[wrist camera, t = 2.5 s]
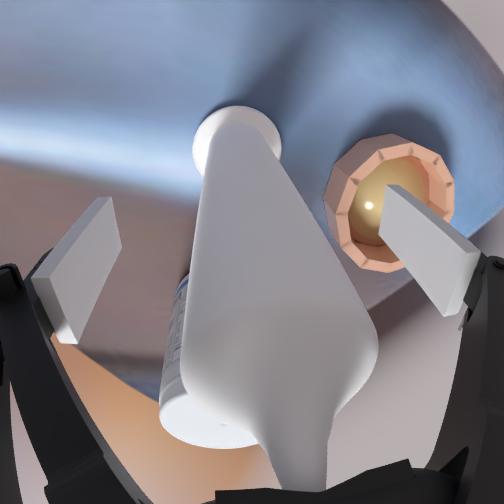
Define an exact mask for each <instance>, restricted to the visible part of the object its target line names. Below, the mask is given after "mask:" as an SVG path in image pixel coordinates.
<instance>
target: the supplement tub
mask: <svg viewBox="0 0 504 504" xmlns="http://www.w3.org/2000/svg"><path fill="white" fill-rule="evenodd" d="M188 281H189V274H188V275H187V276H186V277H185V278H184V279H183V280H182V281H181V283H180V284H179V286H178V288H177V291H176V294H175V299H174V304H173V310H172V315H171V321H170V327H169V333H168V339H167V346H166V352H165V359H164V365H163V372H162V379H161V388H160V396H159V405H160V414H159V416H160V421H161V423H162V425H163V426H164V428H165V429H166V430H167V431H168V432H169V433H170V434H172V435H173V436H175V437H176V438H178V439H180V440H182V441H184V442H187V443H190V444H193V445H197V446H201V447H207V448H219V449H229V448H240V447H246V446H250V445H254V444H258V441H257V440H256V439H255V437H254V436H253V435H252V434H251V433H249V432H247V431H245V430H243V429H241V428H239V427H237V426H235V425H233V424H231V423H228V422H226V421H223V420H221V419H219V418H217V417H215V416H213V415H211V414H209V413H207V412H206V411H205V410H203V409H202V408H201V407H199V406H198V405H197V404H196V403H195V402H194V401H193V399H192V398H191V397H190V396H189V394H188V393H187V391H186V389H185V387H184V385H183V382H182V378H181V373H180V357H181V346H182V336H183V326H184V316H185V307H186V298H187V290H188Z"/></svg>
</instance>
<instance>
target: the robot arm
mask: <svg viewBox="0 0 504 504" xmlns="http://www.w3.org/2000/svg"><path fill="white" fill-rule="evenodd" d="M378 235H379V236H380V237H381V238H382V239H383V240H384V242H385V243H386V244H387V245H388V246H389V248H390V249H391V250H392V251H393V252H394V254H395V255H396V256H397V257H398V258H399V260H400V261H401V262H402V263H403V265H404V266H405V267H406V268H407V270H408V271H409V272H410V273H411V275H412V276H413V277H414V278H415V280H416V281H417V282H418V284H419V285H420V286H421V287H422V289H423V290H424V291H425V293H426V294H427V295H428V297H429V298H430V299H431V301H432V302H433V303H434V305H435V306H436V307H437V309H438V310H439V311H440V313H441V314H442V316H443V317H445V316H449V315H454V314H458V312H459V310H460V307H461V305H462V302H463V301H464V302H465V303H466V304H467V306H468V308H467V311H466V313H465V315H464V317H463V320H462V322H461V324H460V326H459V328H458V330H461V328H462V327H463V331H462V338H461V344H460V350H459V356H458V361H457V366H456V371H455V375H454V380H453V384H452V389H451V393H450V397H449V401H448V405H447V409H446V412H445V416H444V420H443V423H442V426H441V430H440V433H439V436H438V439H437V442H436V445H435V448H434V451H433V454H432V456H431V458H430V460H429V462H428V463H427V465H426V466H425V468H412V467H411V465H410V462H409V459H405V460H402V461H398V462H395V463H392V464H388V465H385V466H382V467H378V468H375V469H370V470H367V471H365V472H363V473H361V474H359V475H357V476H355V477H353V478H351V479H349V480H347V481H345V482H343V483H340V484H338V485H336V486H334V487H332V488H330V489H327V490H325V491H322V492H305V491H292V490H281V489H271V488H259V489H243V490H221V491H220V490H219V491H218V490H217V491H215V500H213V501H209V502H205V503H202V504H504V259H503V258H501V257H497V256H489V257H486V256H485V255H484V254H483V253H482V252H481V251H480V250H479V249H478V248H476V246H474V245H473V244H472V243H471V242H470V241H469V240H468V239H466V238H465V237H464V236H463V235H462V234H461V233H460V232H458V231H457V230H456V229H455V228H453V227H452V226H451V225H450V224H449V223H447V222H446V221H445V220H444V219H443V218H441V217H440V216H439V215H438V214H436V213H435V212H434V211H433V210H431V209H430V208H429V207H428V206H426V205H425V204H424V203H422V202H421V201H420V200H419V199H417V198H416V197H415V196H413V195H412V194H411V193H409V192H408V191H407V190H405V189H404V188H403V187H401V186H400V185H386V189H385V196H384V203H383V209H382V216H381V222H380V228H379V233H378ZM121 249H122V245H121V241H120V237H119V232H118V227H117V222H116V218H115V213H114V208H113V202H112V197H111V196H109V197H100V198H96V199H95V201H94V202H93V203H92V204H91V205H90V206H89V207H88V208H87V209H86V211H85V212H84V213H83V214H82V215H81V216H80V217H79V218H78V220H77V221H76V222H75V223H74V224H73V225H72V227H71V228H70V229H69V230H68V231H67V232H66V234H65V235H64V236H63V237H62V238H61V240H60V241H59V242H58V243H57V245H56V246H55V247H54V248H52V249H51V250H49V251H48V252H47V253H45V254H44V255H43V256H42V257H41V259H40V260H39V261H38V263H37V264H36V265H35V266H34V268H33V269H32V270H31V271H30V273H29V274H28V275H27V277H26V278H25V279H24V281H23V280H22V277H21V275H20V272H19V270H18V267H17V266H16V264H12V263H10V264H5V265H2V266H0V504H23V502H22V498H21V493H20V488H19V483H18V477H17V471H16V464H15V457H14V448H13V440H12V429H11V414H10V382H11V385H12V388H13V392H14V395H15V399H16V402H17V404H18V408H19V411H20V414H21V417H22V420H23V422H24V425H25V428H26V430H27V433H28V436H29V438H30V441H31V443H32V446H33V448H34V451H35V453H36V455H37V458H38V460H39V462H40V465H41V467H42V469H43V471H44V473H45V475H46V478H47V480H48V485H47V486H45V487H44V491H45V495H46V498H47V500H48V503H49V504H153V503H152V501H151V500H150V499H149V498H148V497H147V496H146V495H145V494H144V492H143V491H142V490H141V489H140V487H139V486H138V485H137V484H136V483H135V481H134V480H133V478H132V477H131V476H130V474H129V473H128V472H127V471H126V469H125V468H124V466H123V465H122V464H121V462H120V461H119V459H118V458H117V457H116V455H115V454H114V452H113V451H112V449H111V448H110V446H109V445H108V443H107V442H106V440H105V439H104V437H103V436H102V434H101V432H100V431H99V430H98V428H97V426H96V425H95V423H94V421H93V420H92V418H91V416H90V415H89V413H88V411H87V409H86V408H85V406H84V404H83V402H82V401H81V399H80V397H79V395H78V394H77V392H76V390H75V388H74V386H73V384H72V382H71V380H70V378H69V376H68V374H67V373H66V371H65V369H64V367H63V364H62V362H61V360H60V358H59V356H58V354H57V352H56V350H55V348H54V345H53V343H52V342H51V340H50V337H51V336H52V334H53V332H55V334H56V336H57V338H58V339H59V341H60V343H69V344H78V343H79V340H80V338H81V335H82V333H83V330H84V328H85V326H86V323H87V321H88V319H89V316H90V314H91V312H92V310H93V307H94V305H95V303H96V301H97V299H98V296H99V294H100V292H101V290H102V288H103V286H104V283H105V281H106V279H107V277H108V275H109V273H110V271H111V269H112V267H113V265H114V263H115V261H116V259H117V257H118V255H119V253H120V251H121Z"/></svg>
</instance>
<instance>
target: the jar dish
mask: <svg viewBox="0 0 504 504" xmlns="http://www.w3.org/2000/svg"><path fill="white" fill-rule="evenodd" d="M386 185H400V186H401V187H403V188H404V189H405V190H407V191H408V192H409V193H411V194H412V195H413V196H415V197H416V198H417V199H419V200H420V201H421V202H422V203H424V204H425V205H426V206H428V207H429V208H430V209H431V210H433V211H434V212H435V213H436V214H438V215H439V216H440V217H441V218H443V219H444V220H445V221H446V222H447V223H449V222H450V220H451V218H452V215H453V213H454V180H453V178H452V176H451V174H450V172H449V170H448V169H447V167H446V165H445V163H444V161H443V160H442V158H441V156H440V155H439V154H437V153H435V152H433V151H431V150H429V149H427V148H425V147H423V146H421V145H419V144H416V143H414V142H412V141H409V140H407V139H405V138H402V137H400V136H398V135H396V134H393V133H390V134H385V135H380V136H375V137H371V138H366V139H362V140H359V141H358V142H357V143H356V144H355V145H354V146H353V147H352V148H351V149H350V150H349V151H348V152H347V153H346V154H344V155H343V156H342V157H341V158H340V159H339V160H338V161H337V162H336V163H335V164H334V166H333V169H332V172H331V175H330V178H329V181H328V184H327V187H326V190H325V192H324V195H323V201H324V206H325V211H326V217H327V222H328V227H329V230H330V231H331V233H332V235H333V236H334V238H335V239H336V241H337V243H338V244H339V246H340V247H341V248H342V249H343V250H344V251H345V252H346V253H347V254H348V255H349V256H350V257H351V258H352V259H353V260H354V261H355V262H356V263H357V264H358V266H359V267H360V268H364V269H370V270H376V271H381V272H387V273H389V272H392V271H395V270H398V269H401V268H404V267H405V266H404V265H403V263H402V262H401V261H400V260H399V258H398V257H397V256H396V255H395V254H394V252H393V251H392V250H391V249H390V248H389V246H388V245H387V244H386V243H385V242H384V240H383V239H382V238H381V237H380V236H379V235H378V233H379V228H380V222H381V216H382V209H383V203H384V196H385V189H386ZM354 239H355V240H354Z"/></svg>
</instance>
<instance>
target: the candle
mask: <svg viewBox="0 0 504 504" xmlns="http://www.w3.org/2000/svg"><path fill="white" fill-rule="evenodd" d="M281 150H282V145H281V139H280V135H279V132H278V130H277V128H276V127H275V125H274V124H273V122H272V121H271V120H270V119H269V118H268V117H267V116H266V115H264V114H263V113H261V112H260V111H258V110H256V109H253V108H250V107H246V106H229V107H225V108H222V109H219V110H217V111H215V112H214V113H212V114H211V115H209V116H208V117H207V118H206V119H205V120H204V121H203V122H202V123H201V125H200V126H199V128H198V130H197V132H196V134H195V137H194V141H193V158H194V162H195V164H196V167H197V169H198V170H199V172H200V173H201V175H202V176H203V183H202V190H201V196H200V202H199V209H198V215H197V222H196V229H195V236H194V243H193V250H192V258H191V265H190V273H189V281H188V290H187V298H186V307H185V316H184V326H183V336H182V346H181V357H180V373H181V378H182V382H183V385H184V387H185V389H186V391H187V393H188V394H189V396H190V397H191V398H192V399H193V401H194V402H195V403H196V404H197V405H198V406H199V407H201V408H202V409H203V410H205V411H206V412H207V413H209V414H211V415H213V416H215V417H217V418H219V419H221V420H223V421H226V422H228V423H231V424H233V425H235V426H237V427H239V428H241V429H243V430H245V431H247V432H249V433H251V434H252V435H253V436H254V437H255V439H256V440H257V441H258V443H259V444H260V445H261V447H262V448H263V449H264V451H265V452H266V453H267V455H268V457H269V459H270V462H271V464H272V466H273V469H274V471H275V473H276V476H277V478H278V480H279V483H280V485H281V487H282V489H283V490H292V491H305V492H322V491H325V490H326V476H327V442H328V439H329V435H330V431H331V427H332V423H333V419H334V417H335V416H336V414H337V413H338V412H339V411H340V410H341V409H342V407H343V406H344V405H345V404H346V403H347V402H348V401H349V400H350V399H351V398H352V397H353V396H354V395H355V394H356V393H357V392H358V391H359V390H360V389H361V387H362V386H363V385H364V384H365V382H366V381H367V380H368V378H369V377H370V375H371V373H372V371H373V369H374V366H375V363H376V360H377V356H378V349H379V345H378V337H377V333H376V329H375V327H374V324H373V322H372V320H371V318H370V316H369V314H368V313H367V311H366V309H365V307H364V305H363V303H362V301H361V299H360V297H359V296H358V294H357V292H356V290H355V288H354V286H353V285H352V283H351V281H350V279H349V277H348V276H347V274H346V272H345V270H344V268H343V267H342V265H341V263H340V261H339V259H338V258H337V256H336V254H335V252H334V251H333V249H332V247H331V246H330V244H329V242H328V240H327V239H326V237H325V235H324V233H323V232H322V230H321V228H320V227H319V225H318V223H317V222H316V220H315V218H314V217H313V215H312V213H311V212H310V210H309V208H308V207H307V205H306V203H305V202H304V200H303V199H302V197H301V195H300V194H299V192H298V190H297V189H296V187H295V186H294V184H293V182H292V181H291V179H290V178H289V176H288V175H287V173H286V171H285V170H284V168H283V167H282V165H281V164H280V162H279V161H280V157H281Z"/></svg>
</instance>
